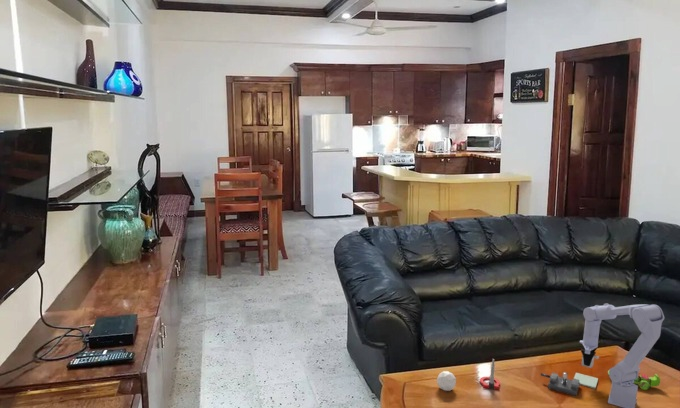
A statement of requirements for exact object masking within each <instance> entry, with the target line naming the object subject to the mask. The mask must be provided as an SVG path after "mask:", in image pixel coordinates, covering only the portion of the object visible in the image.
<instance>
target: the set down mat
mask: <svg viewBox="0 0 680 408" xmlns="http://www.w3.org/2000/svg"><path fill="white" fill-rule="evenodd" d="M573 378H574V379H578V380H579V382H580V385H579V386H584V387H588V388H591V389H593V390H594V389H596V387H597V384H598V381H599V378H598V377H595V376H591V375H586V374H582V373H580V372H575V374H574V377H573Z"/></svg>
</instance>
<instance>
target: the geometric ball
mask: <svg viewBox="0 0 680 408" xmlns="http://www.w3.org/2000/svg"><path fill="white" fill-rule="evenodd" d="M456 379H457V378H456V376H455V375H454V374H453V372H451V371H449V370H443V371H441V372H440V373H439V374H438V376H437V378H436V382H437V383H436V384H437V386H438V387H439V388H440V389H441V390H443V391H445V392H450V391H451V390H453V389H455V387H456V384H457V380H456Z"/></svg>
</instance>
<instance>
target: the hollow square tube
mask: <svg viewBox="0 0 680 408" xmlns="http://www.w3.org/2000/svg"><path fill="white" fill-rule="evenodd" d="M581 355H582V354H581ZM595 360H600V356H599V355H596V354H595V355H594V356H593V358H592V360H591V364H590V366H586V365H584V360H583V355H582V356H581V365H580V366H582V367H585V368H590V369H593V367H594V363H595V362H594V361H595Z"/></svg>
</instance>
